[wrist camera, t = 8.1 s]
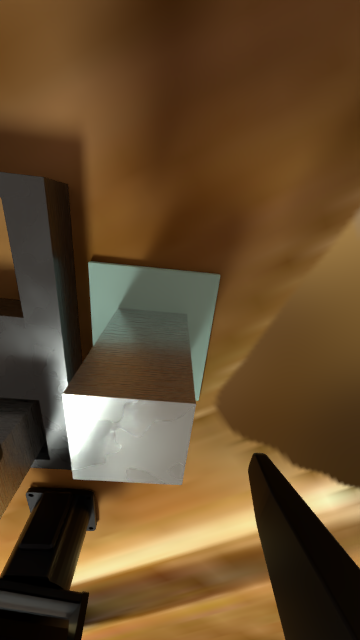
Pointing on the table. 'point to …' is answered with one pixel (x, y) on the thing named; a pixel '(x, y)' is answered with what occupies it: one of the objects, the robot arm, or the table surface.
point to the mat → (156, 301)
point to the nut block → (133, 401)
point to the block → (18, 443)
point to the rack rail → (40, 307)
